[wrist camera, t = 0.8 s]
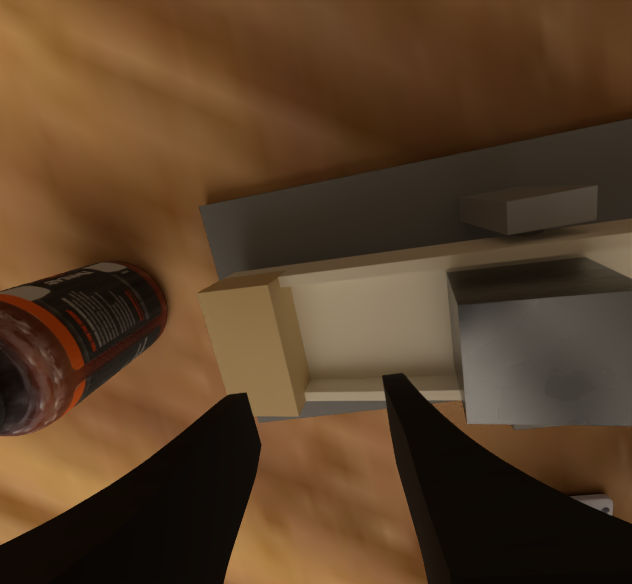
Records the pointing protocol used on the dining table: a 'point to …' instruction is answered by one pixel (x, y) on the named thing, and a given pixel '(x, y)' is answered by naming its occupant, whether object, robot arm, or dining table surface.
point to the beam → (368, 316)
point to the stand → (428, 210)
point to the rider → (543, 343)
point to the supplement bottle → (71, 339)
